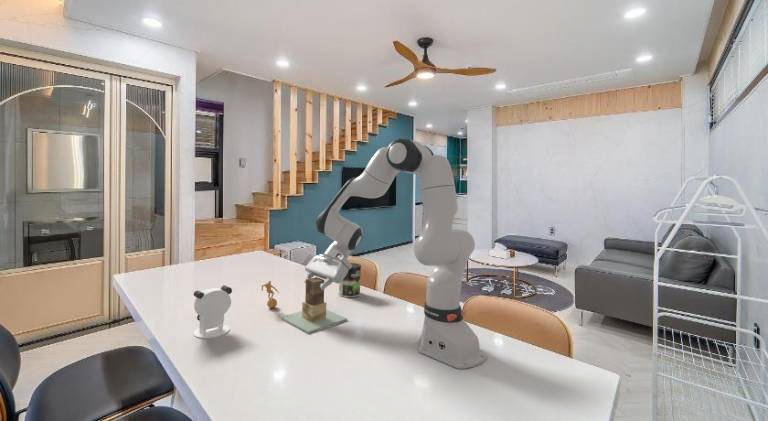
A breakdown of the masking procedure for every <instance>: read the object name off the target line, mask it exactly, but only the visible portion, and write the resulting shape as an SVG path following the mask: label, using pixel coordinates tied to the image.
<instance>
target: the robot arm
mask: <svg viewBox="0 0 768 421" xmlns="http://www.w3.org/2000/svg"><path fill="white" fill-rule="evenodd" d="M400 172H404V173H407V174H411V175H417V176H418V178H419V180H420V188H421V190H420V191H421V195H422V196H421V197H422V205H423V219H422V227H421V229H420V230H421V231H420V234H419V236H418V237H417V238H416V240H415V242H414V246H413V253H414V256H415V259H416V260H417V261H418V262H419V264H422V265H424V266H429V267H433V270H432V272H431V273H430V275H429V276H428V277H427V280H426V291H425V292H426V293H425V294H426V296H425V301H424V307H423V313H424V315H425V316H424V319H423V320H424V321H423V326H422V331H421V335H420V339H419V341H418V344H419V347H418V352H419V353H421V354H423V355H425V356H427V357H430V358H432V359H434V360H436V361H439V362H441V363H443V364H446V365H449V366H450V367H453V368H454V369H455V368H456V369H457V370H458V369H460V370H461V369H463V370H464V369H470V368H473V367H476V366H479V365H481V364H483V363H484V362H485V361H486V360H487V353H486V352H485V351H483V350H481V349H480V341H479V337H478V336H477V334H476V333H475V332H474V330H472V328H471V327H470V325H469V324H468V323H467V321H465V320H464V316H465V315H467V314H466V313H467V311H466V310H465V311H463V310H462V306H461V305H460V304H461V290H462V289H461V288H462V282H463V281H462V280H463V278H464V273H465V270H466V266H467V264H468V261H469V258H470V257H471V255H472V254H473V252H474V250H475V244H476V243H475V239H474V237H473V236H472V234H471V233H470V232H469V231H468V230H463V229H460V228H453V223H454V218H455V216H456V214H457V212H458V208H459V207H458V200H457V192H456V185H455V179H454V173H453V170H452V167H451V164H450V160H448V158H447V157H446V156H443V155H441V154H434V153H433V151H432V150H431V149H430V148H429V147H428V146H427V145H423V144H422V143H420V142H418V141H416V140H413V139H408V138H397V139H394V140H393V141H392V142H391V143H389V144H388V146H384V147H380V148H379V149H377V151H376V152H375V153H374V155H373V156H372V157H371V158H370V159H369V161H368V162H367V165H366V166H365V169H364V170H363V172H362V173H361V174H360V175H359V176H357V177H354V176H353V177H351V178H350V179H348V180H347V181H346V183H344V185H343V186H342V188H340V190H339V191H338V192H337V194H336V195H335V196H334V197H333V199H332V200H331V201H330V202H329V204H328V205H327V206H326V208H325V209H324V210H323V211H322V212H321V213H320V214H319V216H318V217H317V219H316V221H315V227H316V230H317V232H318V233H320V234H322V235H323V236H326V237H328V238H330V239H331V240H333V242H332V243H330V244H329V245H328V247H327V248H326V250H325V251H324V253H323V254H322V253H319V254H318V255H315V256H313V258H311V259H310V260H309V261H308V262H307V264H306V265H305V267H304V270H305V272H307V275H306V278H305V280H304V283H305V284H306V279H310V278H314V276H315V277H317V278H320V279H323V280H324V283H323V284H322V283H321V285H320V286H319V288H320V289H321V290H324V291H325V289H326V288H327V287H329V286H330V285H332V283H335V284H339V283H340V282H342V281H343V279H344V278H345V276H346V275H347V273H348V269H351V267H352V265H351V263H352V262H350V260H348V258H349V256H350V254H351V253H352V251H354V250H356V249H357V247H358V246H359V244H360V243H361V242H362V240H363V232H364V231H363V229H362V227H361V226H360V225H359V224H358V223H356V222H352V221H351V220H349V219H347V218H345V217H344V216H342V215H341V214H340V212H339V211H340V210H341V208H342V207H343V205H344V204H345V203H346V202H347V200H348V199H349V198H351V197H360V198H366V199H377V198H381V197H382V196H384V195H385V194H386V193H387V191H388V190H389V189H390V186H391V185H392V183H393V182H394V180H395V177H396V176H397V175H398V174H399V173H400Z"/></svg>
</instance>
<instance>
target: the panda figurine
mask: <svg viewBox="0 0 768 421" xmlns="http://www.w3.org/2000/svg"><path fill="white" fill-rule="evenodd" d="M232 293H233V290H232V287H230V286H228V285H222V286H221V287H220V288H219V287H218V288H217V287H213V288H208V289H204V290H201V291H200V290H195V291H194V292H193V296H194V297H196V298H195V300H194V302H193V303H194V304H193V307H194V311H195V313H196V314H197V316H196V319H197V320H198V322H199V327H198V328H196V329H195V330H194V331H193V336H194V337H196V338H197V339H203V340H205V339H214V338H219V337H222V336H225V335H226V334H228V333H229V332H230V331H231V328H230V325H227V324H224V321H225V320H224V319H225V314H226V313H227V312H228V311H229V309H230V307H231V305H232V299H231V296H230V295H231V294H232Z"/></svg>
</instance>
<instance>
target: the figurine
mask: <svg viewBox="0 0 768 421" xmlns="http://www.w3.org/2000/svg"><path fill="white" fill-rule="evenodd" d="M264 287H265V289H266V293H267V294H268V295H267V296H268V300H267V302H266V303H267V304H266V305H267V307H268V308H269V309H274V308H276V307H277V305H278V301H277V299H275V298H273V297H274V295H275V292H274V291H273V289H274V290H275V291H276V292H277V294H280V292H279V291H278V289H277V288H276V287H275V286H273V285H272V281H271V280H268V282H266V283H263V284H262V285H261V291H264ZM270 296H271V297H270Z"/></svg>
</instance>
